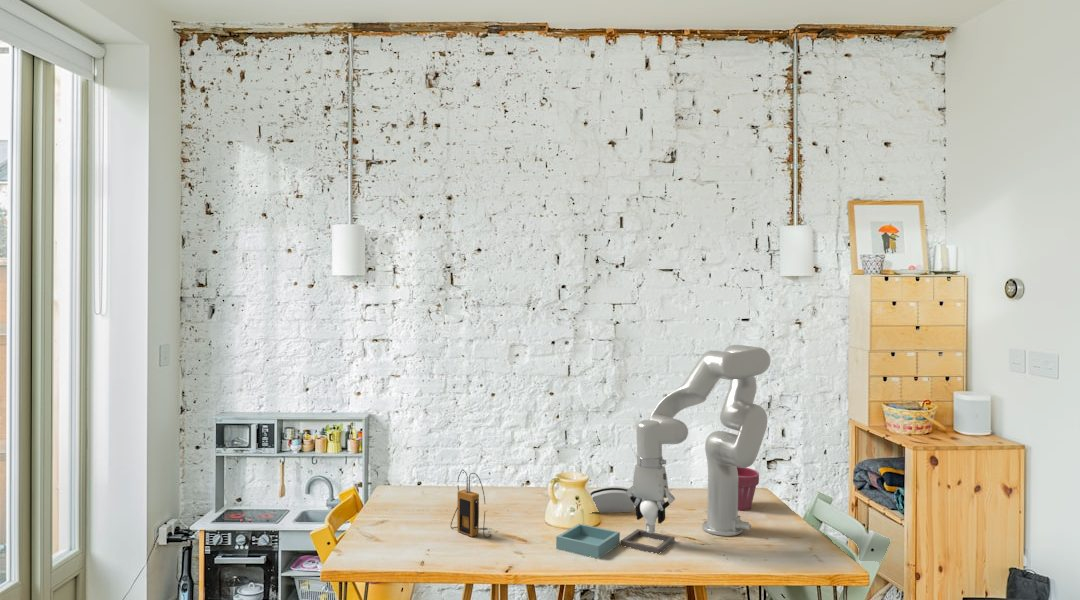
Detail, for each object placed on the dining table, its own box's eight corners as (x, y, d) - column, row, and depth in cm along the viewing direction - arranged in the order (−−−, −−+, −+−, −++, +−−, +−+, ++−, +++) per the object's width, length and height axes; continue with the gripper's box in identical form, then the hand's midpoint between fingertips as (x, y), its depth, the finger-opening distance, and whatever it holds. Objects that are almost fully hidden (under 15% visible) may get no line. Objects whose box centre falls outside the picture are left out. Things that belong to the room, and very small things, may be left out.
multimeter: (503, 532, 224) (504, 469, 223) (480, 540, 216) (480, 475, 216) (472, 521, 234) (473, 461, 233) (449, 529, 226) (449, 466, 226)
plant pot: (766, 511, 247) (766, 475, 247) (729, 514, 244) (730, 477, 244) (745, 499, 261) (745, 465, 261) (710, 501, 258) (711, 466, 258)
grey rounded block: (631, 506, 251) (634, 483, 248) (634, 515, 247) (637, 491, 243) (585, 508, 249) (587, 484, 246) (587, 516, 245) (589, 492, 241)
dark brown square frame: (674, 541, 217) (674, 536, 217) (658, 554, 207) (658, 549, 207) (637, 533, 224) (637, 529, 224) (620, 545, 213) (620, 540, 213)
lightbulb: (660, 537, 212) (660, 501, 211) (639, 536, 213) (639, 500, 213) (661, 530, 218) (661, 494, 218) (640, 528, 219) (640, 493, 219)
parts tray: (619, 543, 215) (619, 532, 215) (598, 558, 203) (598, 546, 203) (579, 534, 222) (579, 523, 222) (556, 548, 210) (556, 536, 210)
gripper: (681, 462, 213) (682, 521, 214) (628, 455, 223) (629, 512, 223) (671, 468, 207) (672, 529, 208) (618, 461, 216) (619, 519, 217)
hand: (650, 519), depth 215 cm, fingers closed on lightbulb, 6 cm apart
